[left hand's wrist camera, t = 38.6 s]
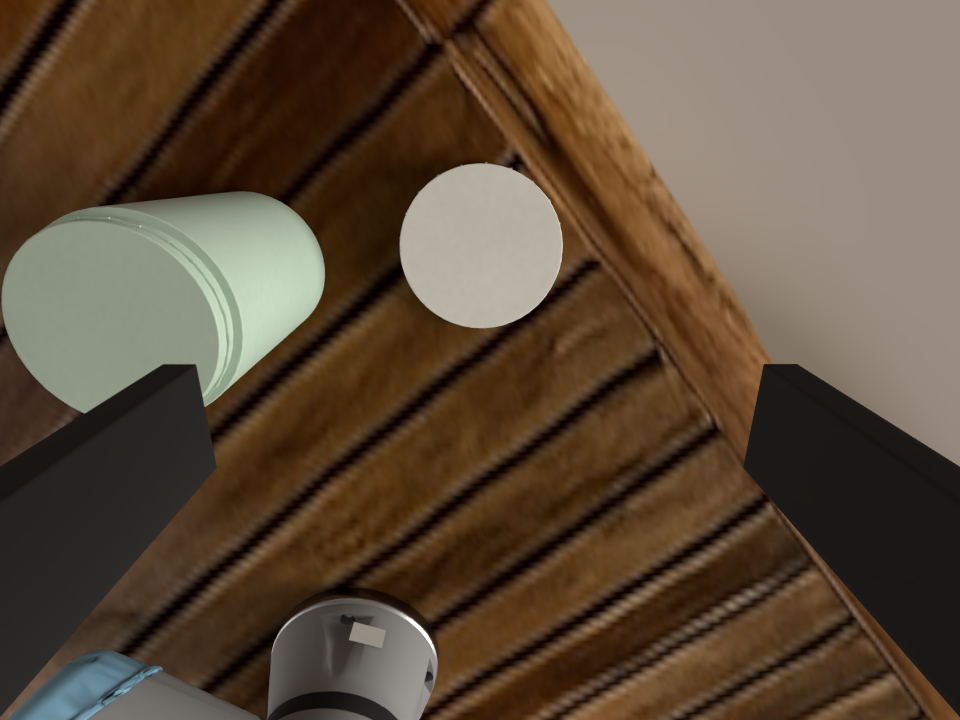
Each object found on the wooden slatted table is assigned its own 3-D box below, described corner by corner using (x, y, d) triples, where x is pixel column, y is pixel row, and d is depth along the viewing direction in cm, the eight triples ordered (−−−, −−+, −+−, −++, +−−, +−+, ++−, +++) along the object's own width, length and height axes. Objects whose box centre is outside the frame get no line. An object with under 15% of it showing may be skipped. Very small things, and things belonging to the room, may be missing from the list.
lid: (419, 333, 40) (416, 340, 38) (386, 177, 36) (381, 178, 34) (567, 309, 39) (571, 316, 37) (549, 149, 35) (552, 148, 33)
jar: (154, 213, 36) (-60, 245, 22) (293, 173, 36) (166, 180, 21) (216, 349, 40) (66, 454, 25) (345, 316, 39) (265, 406, 25)
